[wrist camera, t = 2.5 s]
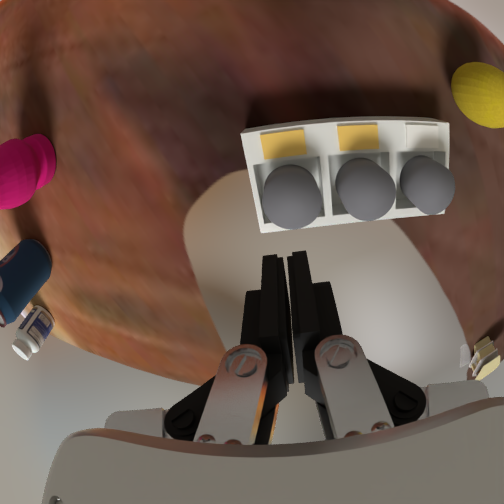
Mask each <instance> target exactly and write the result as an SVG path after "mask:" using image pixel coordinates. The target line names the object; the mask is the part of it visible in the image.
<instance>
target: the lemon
mask: <svg viewBox="0 0 504 504" xmlns="http://www.w3.org/2000/svg"><path fill="white" fill-rule="evenodd" d="M451 90H452V94H453V98H454V100H455V102H456V104H457V106H458V107H459V109H460V110H461V111H462V112H463V113H464V114H465V115H466V116H467V117H468V118H469V119H471V120H472V121H474V122H475V123H477V124H479V125H482V126H486V127H489V128H502V127H504V73H503V72H502V71H500V70H499V69H497V68H496V67H494V66H491V65H489V64H485V63H481V62H471V63H466V64H463V65H462V66H460V67H459V68H458V69H457V70H456V71H455V72H454V74H453V77H452V82H451Z"/></svg>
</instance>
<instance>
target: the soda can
mask: <svg viewBox="0 0 504 504" xmlns="http://www.w3.org/2000/svg"><path fill="white" fill-rule="evenodd" d="M51 268H52V261H51V258H50V255H49V253H48V251H47V250H46V248H45V247H44V246H43V245H42V244H41V243H40V242H39V241H37V240H35V239H25V240H22V241H21V242H20V243H19V244H18V245H17V246H15V247H14V248H13V249H12V250H11V251H10V252H9V253H8V254H7V255H6V256H5V257H4V258H3V259H2V260H1V261H0V326H1V327H5V326H6V325H7V324H9V323H12V322H14V321H15V320H16V318H17V317H18V316H19V315H20V313H21V312H22V311H23V309H24V308H25V307H26V305H27V304H28V303H29V302H30V300H31V299H32V298H33V297H34V295H35V294H36V293H37V292H38V291H39V289H40V288H41V287H42V286H43V285H44V283H45V282H46V281H47V280H48V279H49V277H50V274H51Z"/></svg>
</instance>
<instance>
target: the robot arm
mask: <svg viewBox="0 0 504 504" xmlns="http://www.w3.org/2000/svg"><path fill="white" fill-rule="evenodd" d="M287 261H288V273H289V286H290V301H291V313H290V304H289V297H288V290H287V284H286V283H287V282H286V276H285V269H284V262H283V257H280V258H278V257H277V254H274V255H266V256H263V260H262V280H261V290H252V291H247V292H246V297H245V305H244V314H243V323H242V332H241V341H240V345H238V346H235V347H233V348H232V349H230V350H228V351H227V352H226V353H225V354H224V356H223V358H222V360H221V362H220V365H219V368H218V371H217V374H216V375H215V376H214V377H213V378H211V379H210V380H209V381H207V382H206V383H204V384H203V385H202V386H200V387H199V388H198V389H196V390H195V391H193V392H192V393H191V394H189V395H188V396H187V397H185V398H184V399H182V400H181V401H179V402H178V403H176V404H175V405H174V406H172V407H171V408H170V409H168V410H164V409H163V408H156V409H145V410H132V411H118V412H114V413H113V414H111V415H110V416H109V417H108V418H107V420H106V423H105V428H94V429H86V430H81V431H78V432H75V433H72V434H70V435H69V436H67V437H66V438H65V439H64V440H63V442H62V443H61V445H60V446H59V449H58V450H57V453H56V455H55V457H54V460H53V462H52V465H51V468H50V471H49V475H48V478H47V482H46V486H45V490H44V495H43V500H42V504H504V397H494V398H489V394H488V391H487V388H486V386H485V385H484V384H483V383H482V382H480V381H479V380H467V381H459V382H451V383H441V384H429V385H428V386H427V387H418V386H417V385H416V384H414V383H412V382H410V381H408V380H406V379H404V378H402V377H400V376H398V375H397V374H395V373H393V372H391V371H389V370H387V369H385V368H383V367H381V366H379V365H378V364H375V363H374V362H372V361H370V360H368V359H366V357H365V355H364V352H363V350H362V348H361V346H360V344H359V343H358V342H357V341H356V340H355V339H353V338H352V337H349V336H346V335H343V334H342V329H341V325H340V321H339V316H338V312H337V308H336V304H335V300H334V295H333V292H332V288H331V284H330V282H320V283H314V284H312V280H311V275H310V269H309V264H308V258H307V253H306V251H298V252H292V256H288V257H287ZM291 316H292V328H291ZM292 331H293V340H294V348H295V356H296V364H297V373H298V381H299V383H304V384H305V394H306V395H308V396H309V397H311V398H312V399H313V400H315V403H316V407H317V411H318V415H319V419H320V423H321V427H322V431H323V435H324V439H325V441H316V442H307V443H295V444H278V445H277V444H276V445H271V444H272V440H273V435H274V430H275V425H276V419H277V414H278V408H279V402H280V401H281V400H282V399H283V398H285V397H286V396H287V392H288V391H289V384H293V383H294V368H293V347H292Z"/></svg>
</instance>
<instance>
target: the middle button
mask: <svg viewBox="0 0 504 504" xmlns="http://www.w3.org/2000/svg"><path fill="white" fill-rule="evenodd" d="M335 187H336V191H337V194H338V196H339V197H340V199H341V201H342V203H343V205H344V206H345V208H346V210H347V211H348V213H349V214H350V215H351V216H353V217H354V218H356V219H359V220H362V221H373V220H376V219H379V218H381V217H383V216H384V215H385V214H386V213H387V212H388V211H389V210H390V209H391V207H392V206H393V204H394V201H395V198H396V186H395V183H394V180H393V178H392V177H391V176H390V174H389V173H387V172H386V171H385V170H384V169H383V168H381V167H380V166H379V165H378V164H376V163H375V162H374V161H372V160H370V159H367V158H354V159H351V160H349V161H347V162H346V163H344V164H343V165H342V166H341V168H340V169H339V171H338V173H337V175H336V179H335Z"/></svg>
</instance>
